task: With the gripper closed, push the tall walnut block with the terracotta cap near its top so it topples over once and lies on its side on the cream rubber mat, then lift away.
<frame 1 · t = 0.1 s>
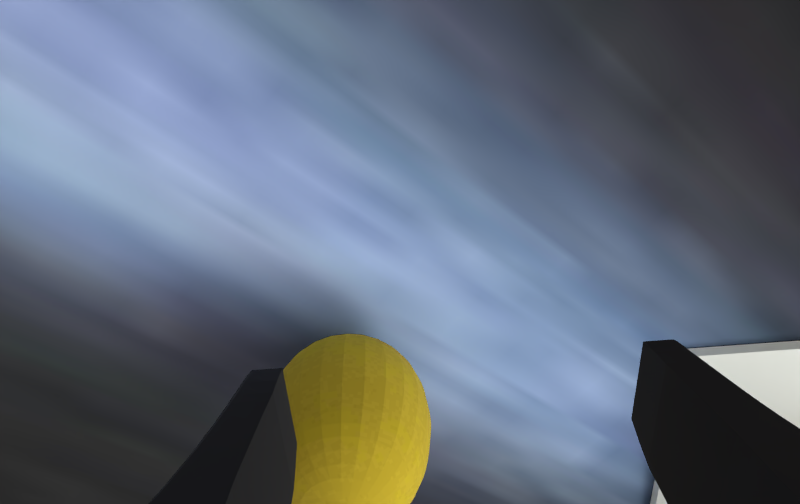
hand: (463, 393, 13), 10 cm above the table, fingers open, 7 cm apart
lemon: (351, 349, 25), on the table
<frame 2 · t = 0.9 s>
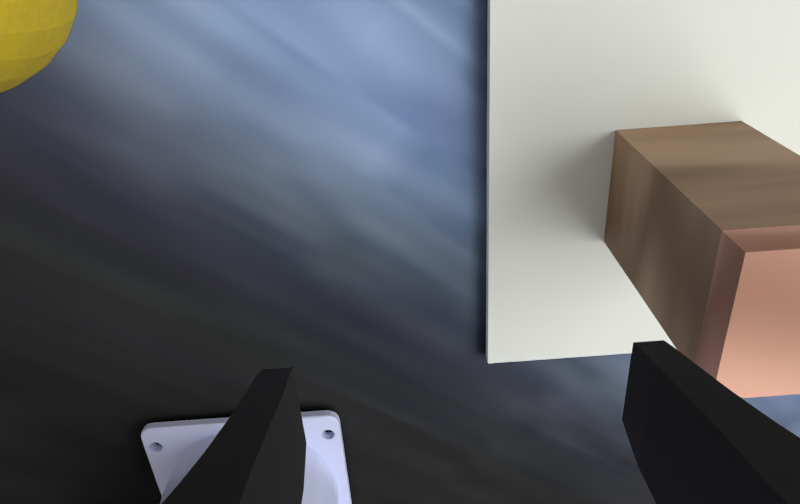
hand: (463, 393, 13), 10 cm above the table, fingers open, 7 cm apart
walnut block: (669, 184, 21), resting on mat
mat: (751, 171, 21), on the table
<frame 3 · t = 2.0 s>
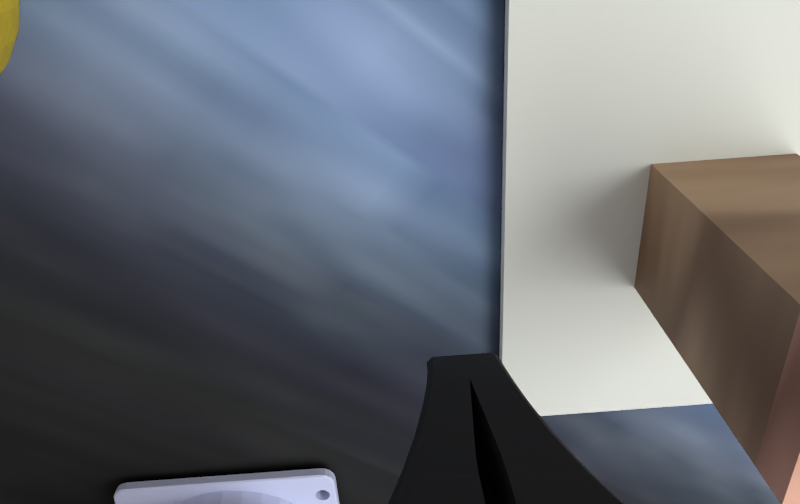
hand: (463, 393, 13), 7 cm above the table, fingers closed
walnut block: (710, 223, 18), resting on mat
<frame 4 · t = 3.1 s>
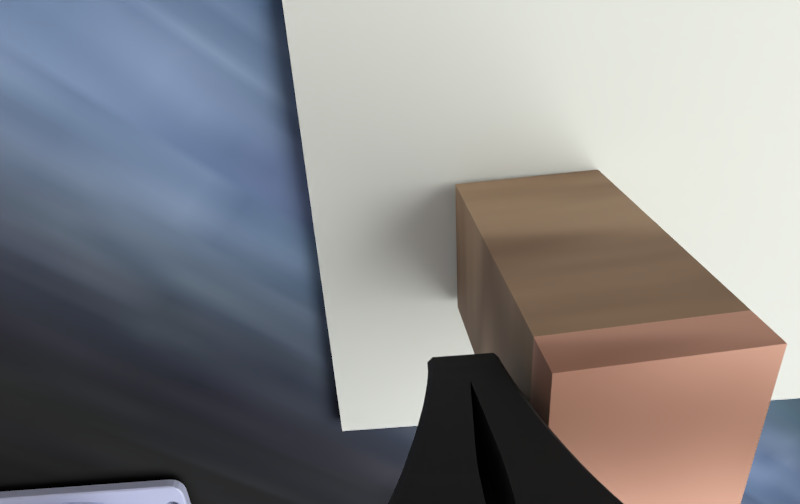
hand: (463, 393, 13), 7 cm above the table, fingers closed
walnut block: (524, 241, 18), point 1 cm above the table, touching mat
mat: (620, 223, 19), on the table
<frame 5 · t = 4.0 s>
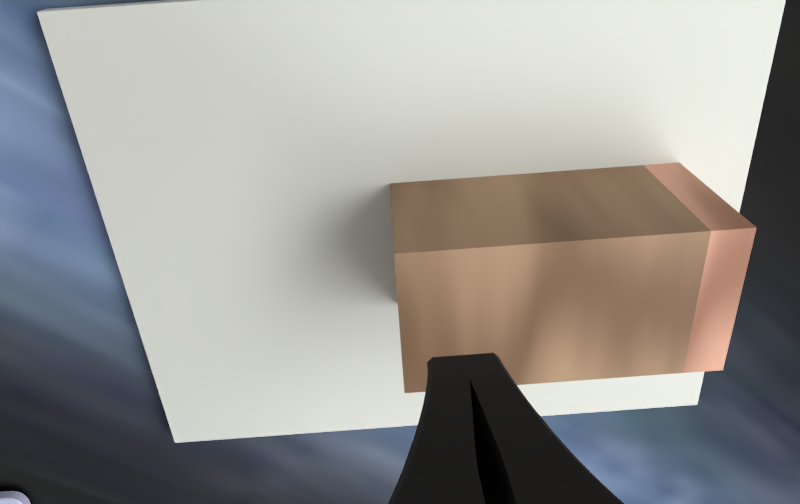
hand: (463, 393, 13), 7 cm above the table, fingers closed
walnut block: (396, 283, 17), point 2 cm above the table, tilted 90°, touching mat
mat: (426, 236, 19), on the table
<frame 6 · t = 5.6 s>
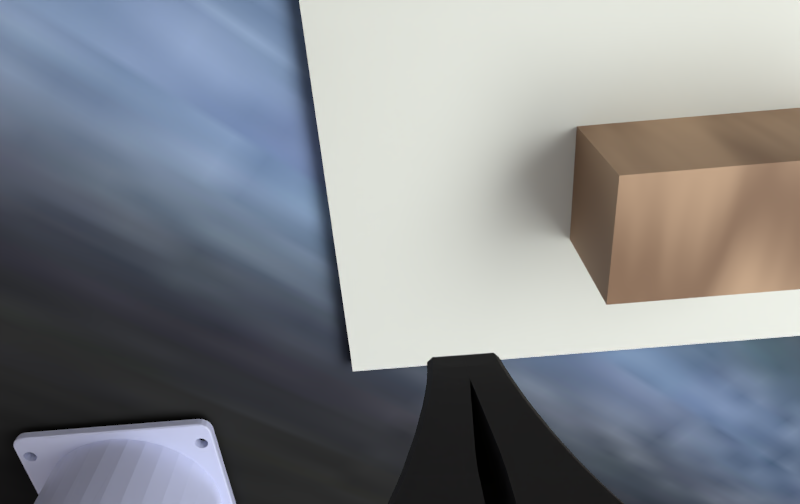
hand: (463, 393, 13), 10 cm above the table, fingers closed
walnut block: (591, 211, 19), point 2 cm above the table, tilted 90°, touching mat
mat: (598, 177, 21), on the table
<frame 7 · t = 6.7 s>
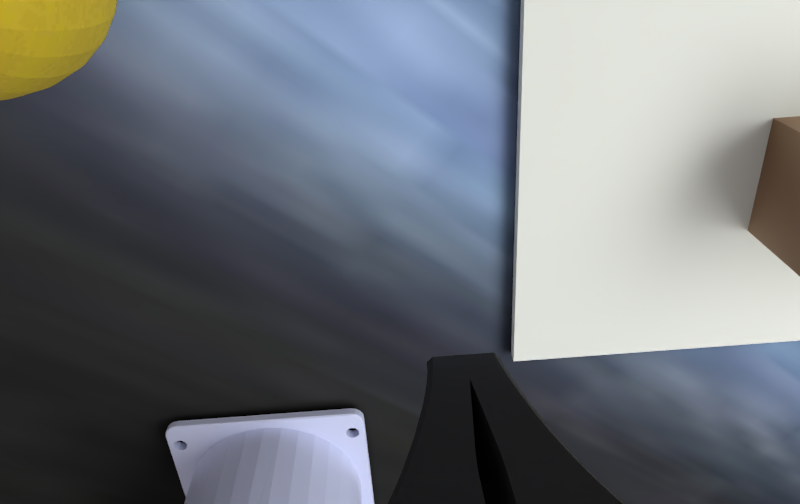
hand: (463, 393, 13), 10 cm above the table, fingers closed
walnut block: (794, 201, 19), point 2 cm above the table, tilted 90°, touching mat
mat: (780, 169, 21), on the table
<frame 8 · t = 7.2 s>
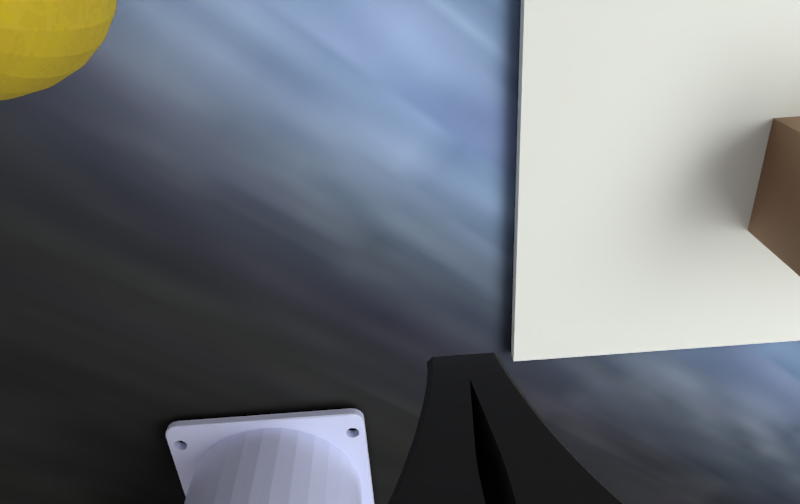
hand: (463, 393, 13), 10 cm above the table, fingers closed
walnut block: (794, 201, 19), point 2 cm above the table, tilted 90°, touching mat
mat: (780, 169, 21), on the table
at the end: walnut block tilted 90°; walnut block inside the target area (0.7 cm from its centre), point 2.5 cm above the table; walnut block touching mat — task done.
